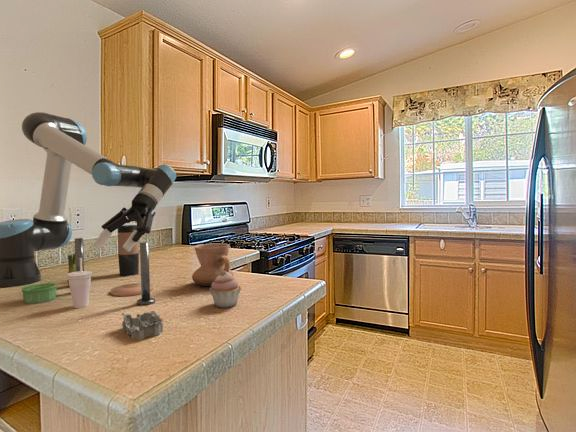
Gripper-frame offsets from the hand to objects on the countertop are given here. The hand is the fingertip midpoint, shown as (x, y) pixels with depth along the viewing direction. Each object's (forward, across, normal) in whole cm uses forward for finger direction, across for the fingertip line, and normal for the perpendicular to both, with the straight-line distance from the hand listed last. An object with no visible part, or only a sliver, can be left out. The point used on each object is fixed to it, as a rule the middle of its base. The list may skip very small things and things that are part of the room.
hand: (110, 248), depth 109 cm
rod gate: (+11, 0, -11) cm, 16 cm away
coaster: (+6, 0, -16) cm, 17 cm away
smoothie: (+18, 0, -4) cm, 19 cm away
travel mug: (-7, +23, -29) cm, 38 cm away
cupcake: (+6, -38, -17) cm, 42 cm away
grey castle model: (+23, -31, 0) cm, 39 cm away
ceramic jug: (-7, -20, -29) cm, 36 cm away
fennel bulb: (+8, +25, -15) cm, 30 cm away
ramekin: (+19, +18, -3) cm, 27 cm away
